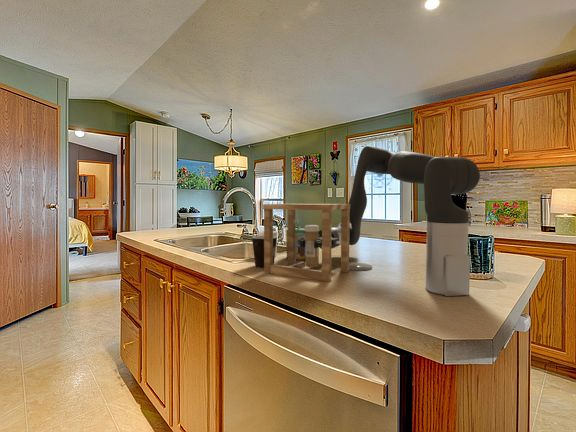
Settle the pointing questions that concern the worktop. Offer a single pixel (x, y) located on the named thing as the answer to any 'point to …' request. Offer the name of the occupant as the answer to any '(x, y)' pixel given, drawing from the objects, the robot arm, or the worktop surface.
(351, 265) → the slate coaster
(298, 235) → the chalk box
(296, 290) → the worktop surface
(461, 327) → the worktop surface
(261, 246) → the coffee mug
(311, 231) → the sprinkles bottle
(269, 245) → the oak shelf
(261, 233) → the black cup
